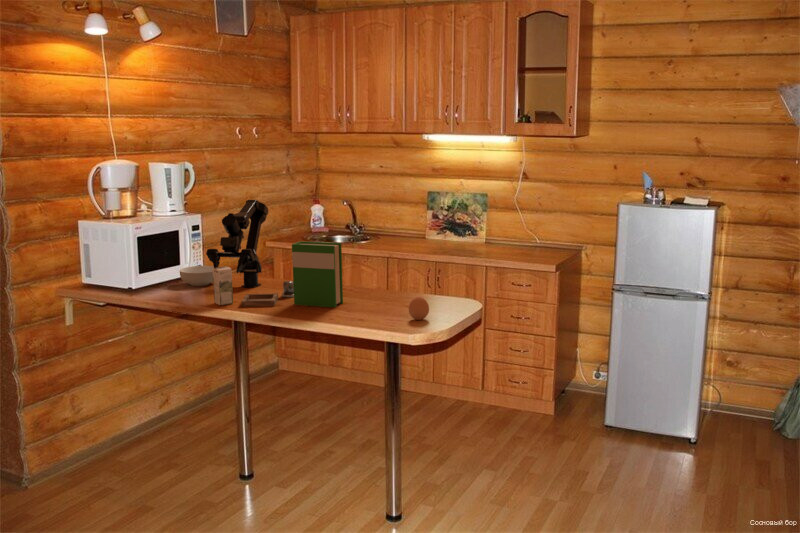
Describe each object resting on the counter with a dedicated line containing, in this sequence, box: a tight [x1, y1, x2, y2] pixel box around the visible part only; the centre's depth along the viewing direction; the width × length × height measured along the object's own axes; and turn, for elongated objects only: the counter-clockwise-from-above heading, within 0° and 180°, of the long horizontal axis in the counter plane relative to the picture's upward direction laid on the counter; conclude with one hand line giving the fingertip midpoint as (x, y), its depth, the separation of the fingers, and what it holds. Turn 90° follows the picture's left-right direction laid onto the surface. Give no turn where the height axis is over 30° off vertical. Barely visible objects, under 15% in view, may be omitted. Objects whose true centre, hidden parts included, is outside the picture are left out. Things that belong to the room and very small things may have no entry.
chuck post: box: [281, 280, 294, 299], centre depth 319 cm, size 6×6×6 cm
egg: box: [408, 295, 430, 321], centre depth 279 cm, size 7×7×8 cm
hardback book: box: [291, 240, 344, 308], centre depth 304 cm, size 18×7×24 cm, turn 71°
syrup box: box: [212, 266, 234, 306], centre depth 307 cm, size 6×6×14 cm
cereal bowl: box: [179, 265, 214, 287], centre depth 345 cm, size 17×17×7 cm
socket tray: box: [240, 293, 279, 308], centre depth 309 cm, size 13×13×2 cm
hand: (226, 272), depth 310 cm, fingers open, 9 cm apart
